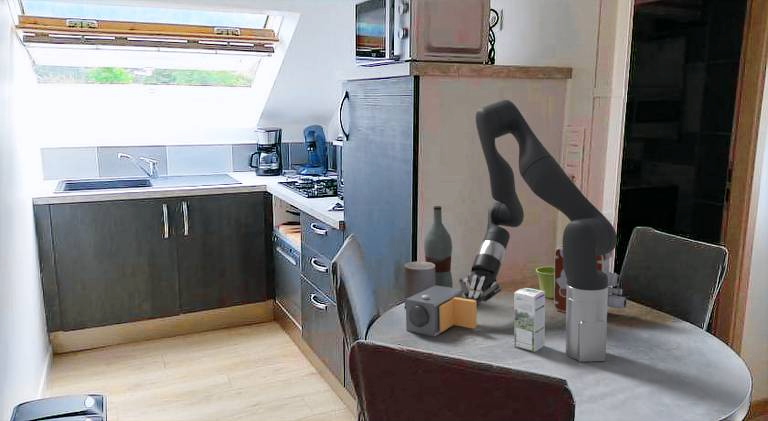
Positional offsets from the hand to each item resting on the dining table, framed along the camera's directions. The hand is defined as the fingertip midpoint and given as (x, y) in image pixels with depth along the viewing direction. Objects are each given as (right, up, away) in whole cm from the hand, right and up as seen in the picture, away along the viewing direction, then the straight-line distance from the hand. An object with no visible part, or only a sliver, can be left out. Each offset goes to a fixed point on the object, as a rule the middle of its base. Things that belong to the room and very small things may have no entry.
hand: (469, 311), depth 156 cm
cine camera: (+37, -2, +10) cm, 38 cm away
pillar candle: (-12, -3, +20) cm, 24 cm away
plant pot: (+31, 0, +28) cm, 42 cm away
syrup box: (+13, -7, -13) cm, 20 cm away
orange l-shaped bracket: (-3, -4, -3) cm, 6 cm away
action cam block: (-9, -4, +4) cm, 11 cm away
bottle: (-5, -1, +32) cm, 33 cm away
